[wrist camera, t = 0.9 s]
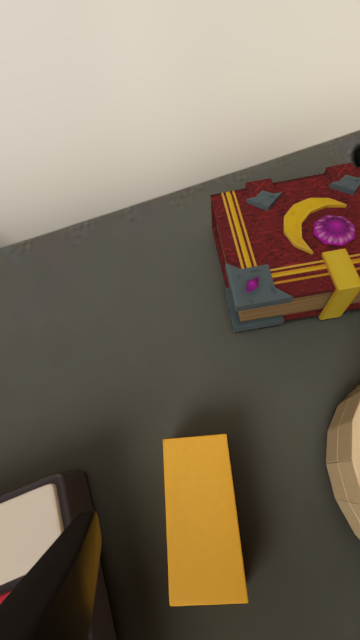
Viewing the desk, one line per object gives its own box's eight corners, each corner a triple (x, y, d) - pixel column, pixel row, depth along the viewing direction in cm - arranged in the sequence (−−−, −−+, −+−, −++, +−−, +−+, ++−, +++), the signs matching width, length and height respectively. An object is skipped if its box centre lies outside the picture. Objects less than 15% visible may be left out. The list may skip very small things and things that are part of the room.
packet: (245, 587, 17) (248, 603, 15) (176, 590, 18) (169, 607, 15) (226, 437, 21) (226, 433, 19) (168, 442, 21) (162, 438, 19)
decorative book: (209, 229, 30) (207, 186, 25) (380, 197, 29) (408, 147, 24) (233, 335, 24) (236, 304, 20) (443, 300, 23) (494, 260, 19)
